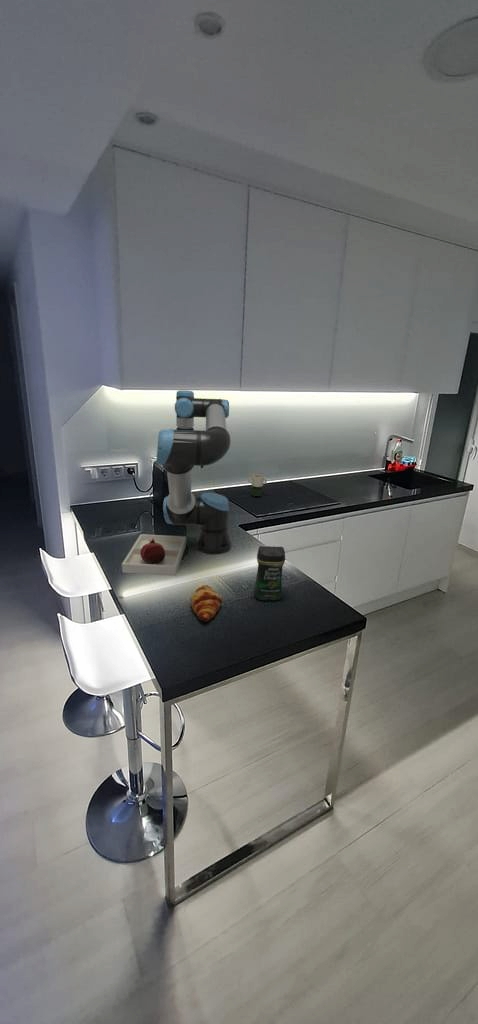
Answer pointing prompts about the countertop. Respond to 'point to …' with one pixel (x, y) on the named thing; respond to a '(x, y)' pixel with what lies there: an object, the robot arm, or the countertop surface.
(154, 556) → the fruit
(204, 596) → the croissant
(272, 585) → the coffee jar
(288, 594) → the countertop surface
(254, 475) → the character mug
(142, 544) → the fruit holder
